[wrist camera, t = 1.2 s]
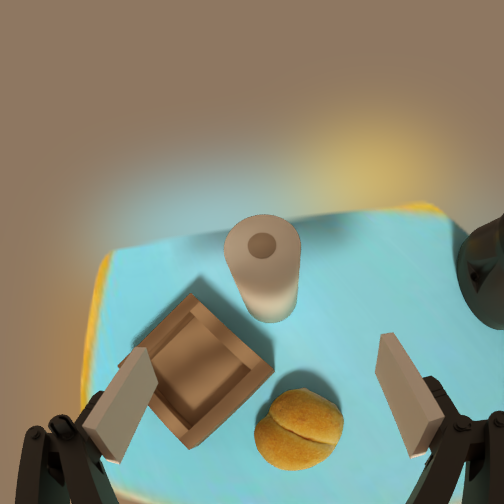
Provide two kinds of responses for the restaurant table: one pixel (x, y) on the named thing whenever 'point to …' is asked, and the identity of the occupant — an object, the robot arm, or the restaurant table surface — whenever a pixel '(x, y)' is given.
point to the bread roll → (299, 430)
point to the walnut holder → (199, 371)
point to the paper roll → (265, 265)
